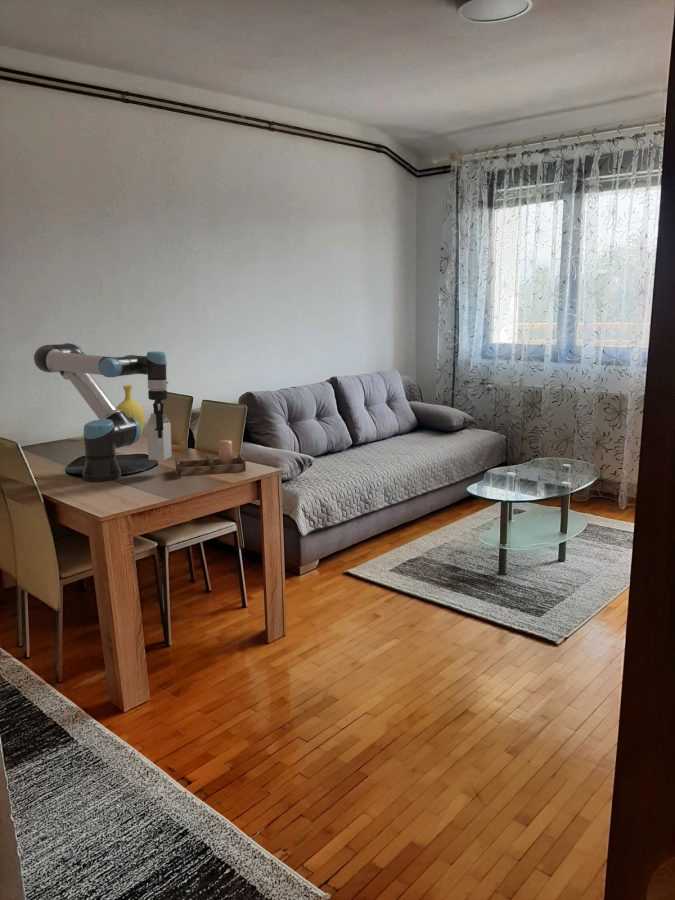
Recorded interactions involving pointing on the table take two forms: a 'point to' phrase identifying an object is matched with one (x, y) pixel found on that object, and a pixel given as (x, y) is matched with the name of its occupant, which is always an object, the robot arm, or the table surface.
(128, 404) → the vase
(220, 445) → the canister
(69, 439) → the table surface
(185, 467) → the rack
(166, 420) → the milk carton
